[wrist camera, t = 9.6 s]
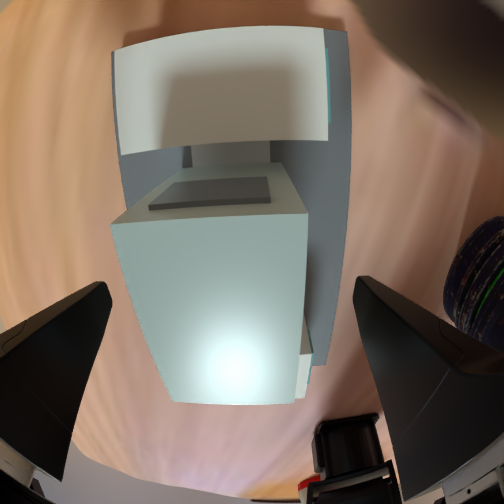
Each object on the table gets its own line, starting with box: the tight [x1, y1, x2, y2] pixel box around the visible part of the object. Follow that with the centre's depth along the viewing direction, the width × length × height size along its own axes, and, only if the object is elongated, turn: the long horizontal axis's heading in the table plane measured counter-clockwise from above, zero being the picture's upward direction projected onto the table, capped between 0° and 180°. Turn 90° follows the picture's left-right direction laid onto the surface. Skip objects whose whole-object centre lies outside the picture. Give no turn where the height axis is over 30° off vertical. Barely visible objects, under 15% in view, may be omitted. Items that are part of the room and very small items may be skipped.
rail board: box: [111, 26, 352, 399], centre depth 13 cm, size 11×20×4 cm, turn 2°
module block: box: [110, 162, 308, 405], centre depth 10 cm, size 4×7×7 cm, turn 3°
